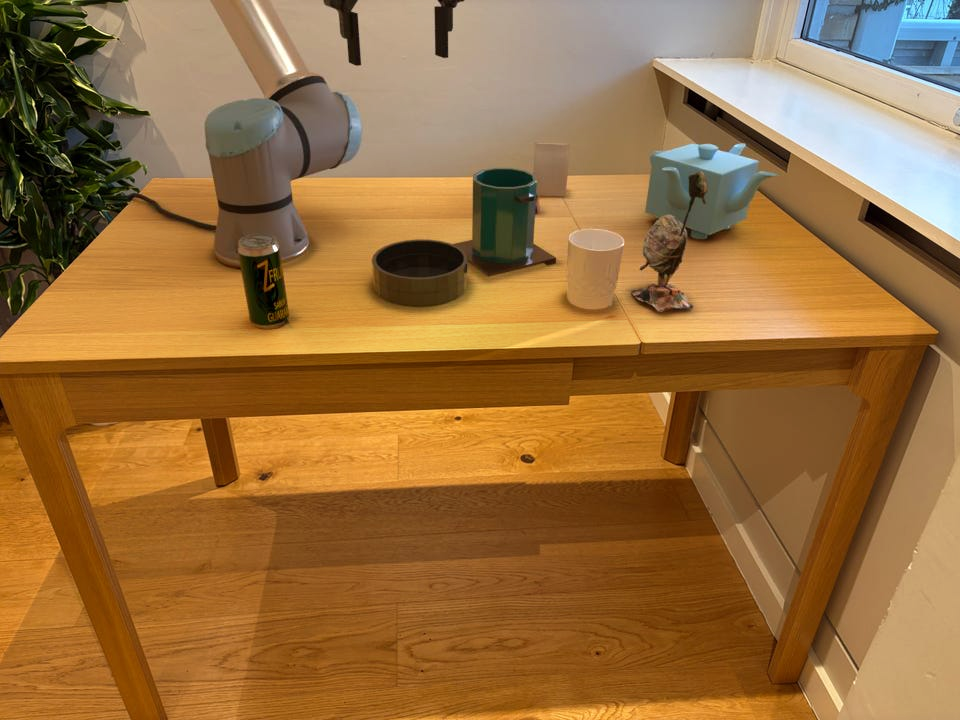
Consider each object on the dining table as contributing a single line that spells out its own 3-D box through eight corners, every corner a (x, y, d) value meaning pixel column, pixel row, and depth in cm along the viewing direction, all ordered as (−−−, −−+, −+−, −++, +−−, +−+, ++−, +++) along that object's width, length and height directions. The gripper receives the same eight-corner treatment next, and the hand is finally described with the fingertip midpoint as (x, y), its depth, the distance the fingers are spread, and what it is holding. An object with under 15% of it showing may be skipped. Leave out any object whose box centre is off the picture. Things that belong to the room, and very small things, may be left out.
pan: (359, 279, 112) (357, 250, 110) (440, 261, 119) (440, 233, 116) (398, 318, 102) (396, 287, 99) (484, 296, 108) (485, 266, 106)
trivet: (448, 250, 123) (448, 244, 122) (513, 236, 128) (513, 230, 128) (488, 280, 113) (488, 274, 113) (555, 263, 119) (556, 257, 118)
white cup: (581, 285, 112) (587, 224, 107) (626, 300, 108) (634, 238, 103) (552, 303, 107) (557, 240, 102) (598, 320, 103) (605, 255, 97)
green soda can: (242, 324, 100) (227, 243, 94) (269, 308, 104) (256, 230, 98) (271, 334, 98) (258, 252, 92) (298, 317, 102) (287, 238, 96)
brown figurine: (672, 280, 114) (694, 154, 103) (697, 315, 105) (725, 180, 94) (622, 282, 113) (639, 155, 103) (643, 316, 104) (664, 181, 93)
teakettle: (637, 206, 142) (648, 130, 134) (734, 209, 141) (750, 133, 133) (651, 244, 126) (664, 161, 118) (760, 248, 125) (780, 164, 117)
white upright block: (565, 196, 146) (569, 147, 140) (532, 195, 146) (535, 145, 141) (565, 190, 149) (569, 141, 143) (532, 189, 149) (535, 140, 144)
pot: (456, 242, 123) (456, 170, 116) (506, 232, 127) (509, 161, 120) (497, 272, 113) (499, 195, 106) (549, 259, 117) (555, 185, 111)
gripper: (307, -122, 84) (325, 72, 95) (491, -116, 94) (487, 57, 106) (287, -121, 89) (306, 62, 100) (463, -116, 100) (462, 49, 111)
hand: (399, 60), depth 103 cm, fingers open, 13 cm apart
